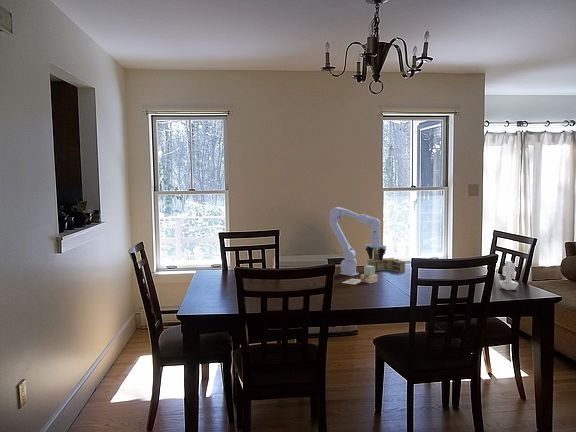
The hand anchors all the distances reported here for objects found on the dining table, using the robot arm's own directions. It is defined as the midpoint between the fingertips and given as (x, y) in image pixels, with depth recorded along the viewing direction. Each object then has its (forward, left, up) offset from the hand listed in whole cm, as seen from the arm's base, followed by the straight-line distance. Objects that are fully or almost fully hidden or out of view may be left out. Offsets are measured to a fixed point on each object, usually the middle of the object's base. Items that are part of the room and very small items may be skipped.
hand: (375, 259), depth 281 cm
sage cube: (+7, -16, -6) cm, 18 cm away
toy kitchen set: (-2, +13, -10) cm, 17 cm away
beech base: (+7, -16, -10) cm, 20 cm away
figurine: (+73, +18, -10) cm, 76 cm away
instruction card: (0, -22, -10) cm, 24 cm away
